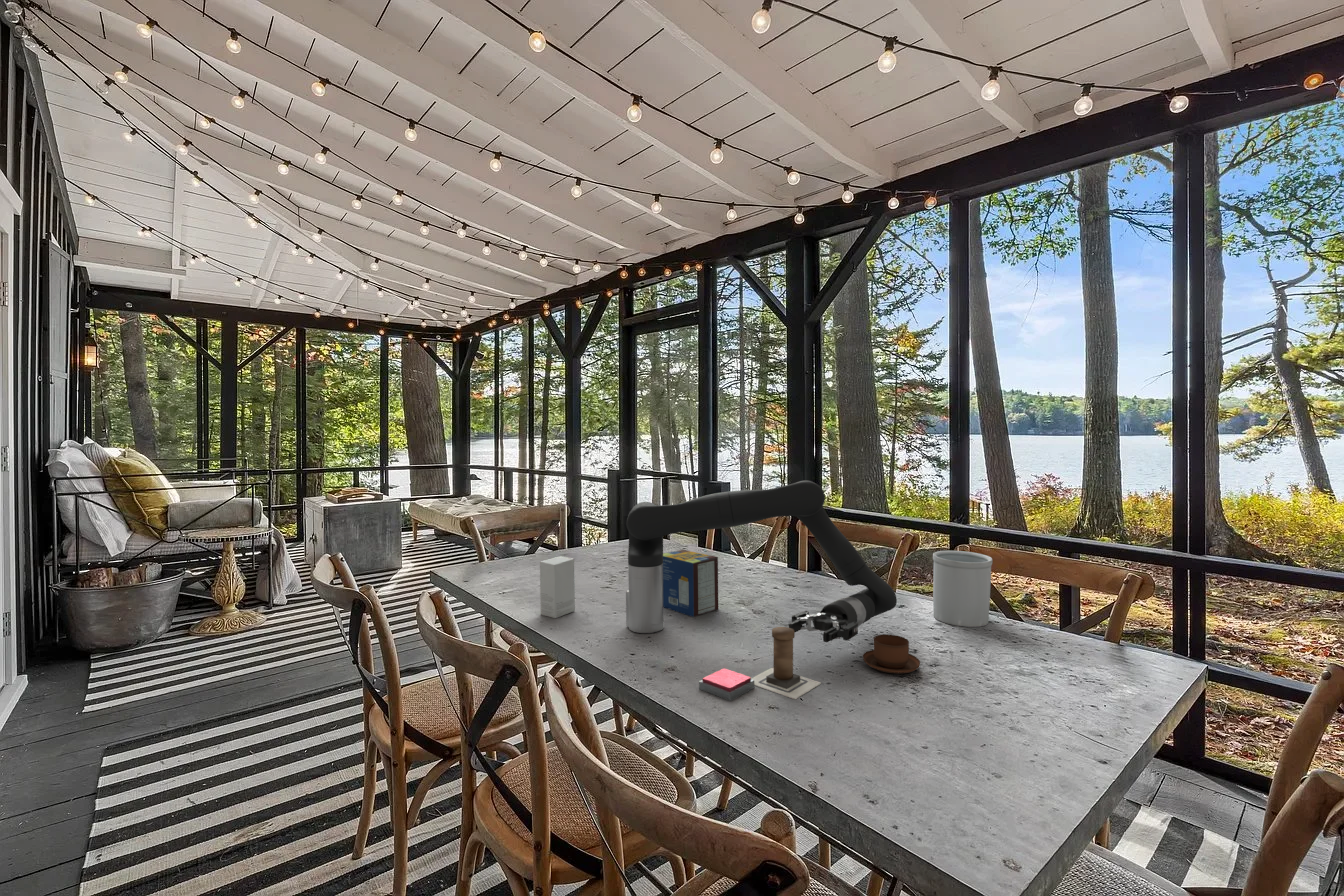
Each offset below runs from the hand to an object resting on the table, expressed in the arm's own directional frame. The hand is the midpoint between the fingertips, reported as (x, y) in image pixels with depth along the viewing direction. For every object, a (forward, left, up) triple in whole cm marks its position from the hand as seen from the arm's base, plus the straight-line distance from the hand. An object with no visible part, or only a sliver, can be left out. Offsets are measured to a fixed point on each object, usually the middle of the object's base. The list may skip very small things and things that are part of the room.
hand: (807, 633), depth 134 cm
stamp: (0, -9, -8) cm, 12 cm away
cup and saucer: (+13, +14, -9) cm, 21 cm away
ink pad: (-7, -19, -8) cm, 22 cm away
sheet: (0, -9, -8) cm, 12 cm away
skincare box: (-74, -12, -8) cm, 76 cm away
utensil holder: (+13, +59, -8) cm, 61 cm away
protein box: (-50, +17, -8) cm, 54 cm away
